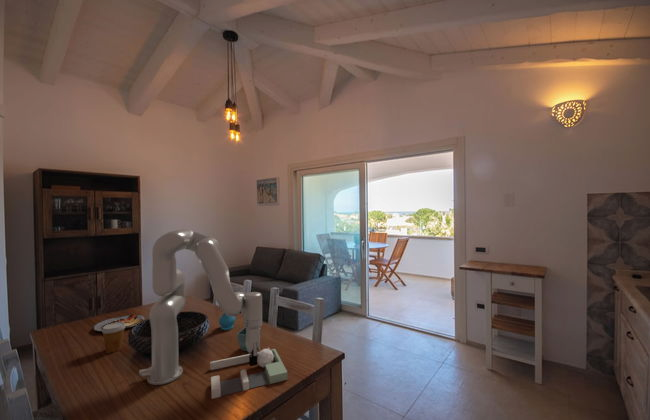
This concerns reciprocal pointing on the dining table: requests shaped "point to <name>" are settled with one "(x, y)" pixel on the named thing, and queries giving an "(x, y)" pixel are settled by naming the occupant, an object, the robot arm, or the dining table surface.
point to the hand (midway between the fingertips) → (253, 364)
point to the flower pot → (243, 338)
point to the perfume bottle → (226, 322)
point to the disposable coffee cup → (113, 336)
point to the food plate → (128, 321)
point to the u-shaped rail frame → (245, 382)
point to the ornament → (265, 357)
